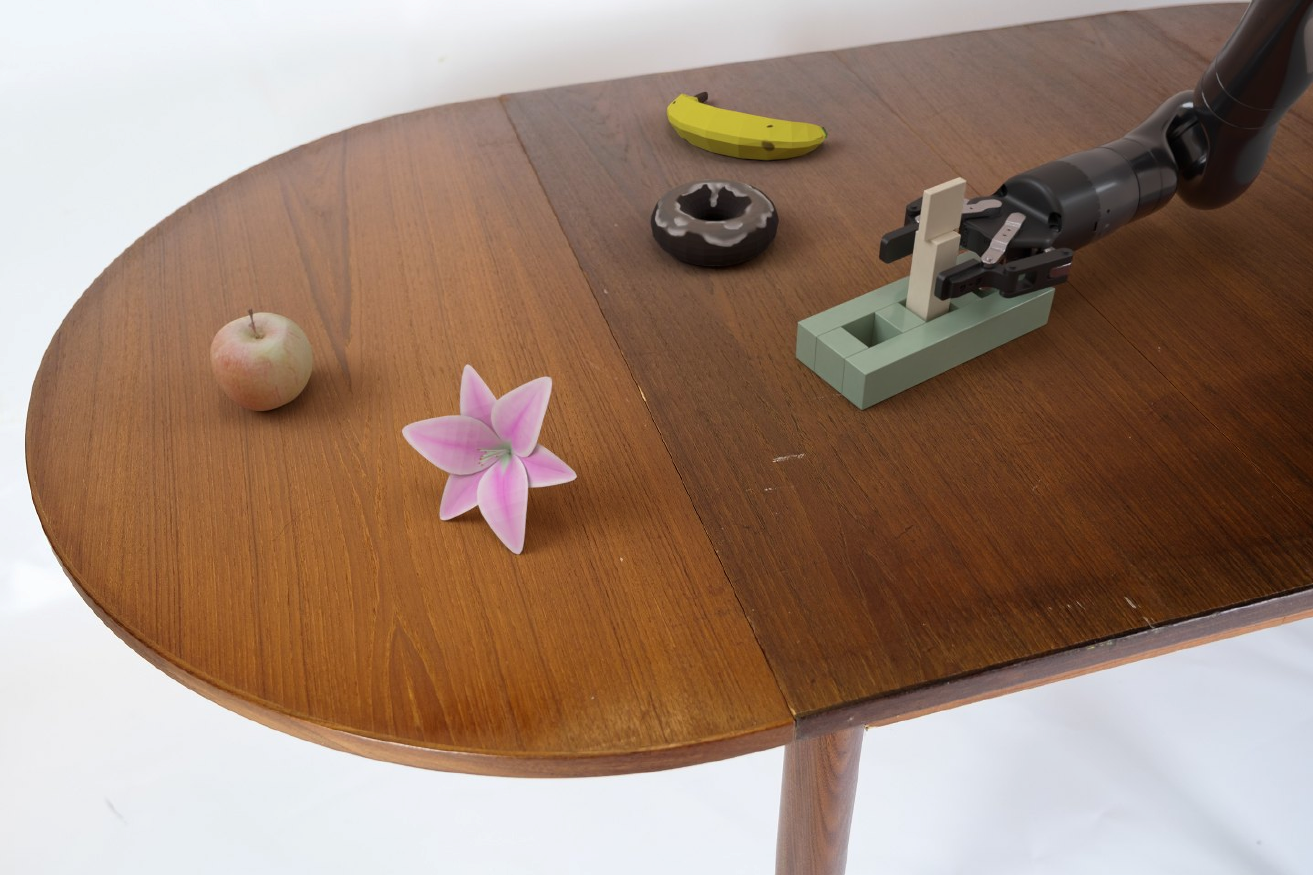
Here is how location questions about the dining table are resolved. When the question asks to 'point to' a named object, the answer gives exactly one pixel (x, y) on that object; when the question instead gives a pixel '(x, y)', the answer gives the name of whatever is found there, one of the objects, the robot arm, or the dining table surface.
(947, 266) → the cream offset-tab post
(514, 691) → the dining table surface
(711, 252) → the donut
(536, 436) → the lily
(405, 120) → the dining table surface
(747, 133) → the banana
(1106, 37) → the dining table surface
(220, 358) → the fruit
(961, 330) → the caddy
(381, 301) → the dining table surface
